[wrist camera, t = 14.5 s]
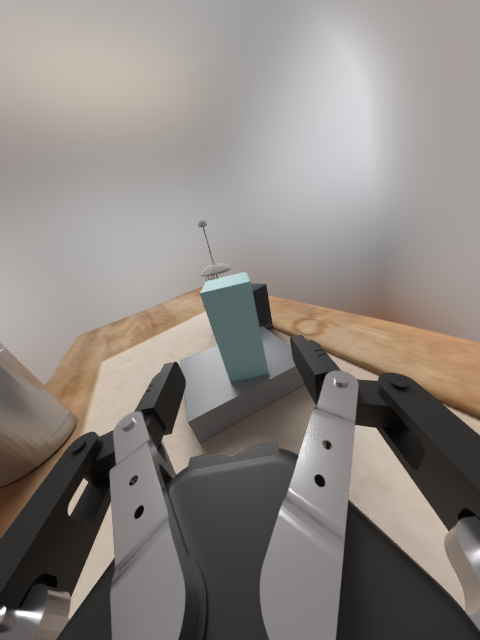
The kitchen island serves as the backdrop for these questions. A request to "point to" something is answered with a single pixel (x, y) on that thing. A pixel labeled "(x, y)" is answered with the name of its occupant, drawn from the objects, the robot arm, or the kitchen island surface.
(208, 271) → the french press
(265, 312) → the small box
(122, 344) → the kitchen island surface
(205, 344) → the kitchen island surface
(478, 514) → the robot arm
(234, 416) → the grey flat block
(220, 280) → the teal block
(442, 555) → the kitchen island surface
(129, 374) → the kitchen island surface
